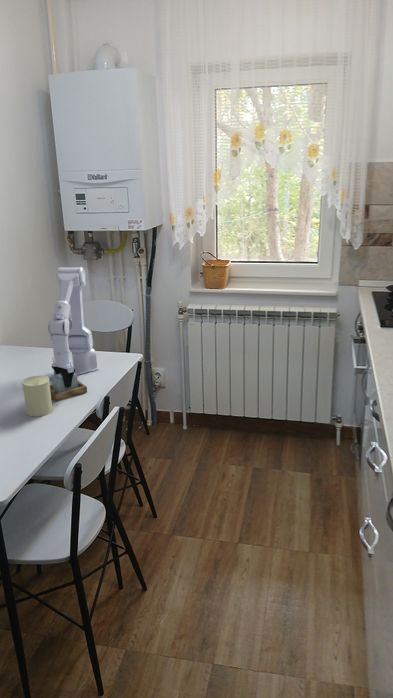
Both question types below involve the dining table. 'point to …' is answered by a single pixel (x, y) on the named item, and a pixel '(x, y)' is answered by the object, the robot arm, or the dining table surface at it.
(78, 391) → the tray
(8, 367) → the dining table surface
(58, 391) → the pale blue cuboid
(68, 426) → the dining table surface
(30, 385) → the can
